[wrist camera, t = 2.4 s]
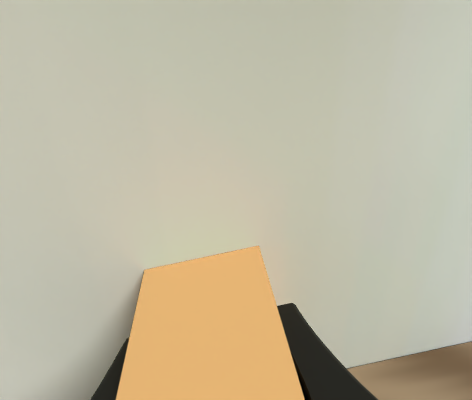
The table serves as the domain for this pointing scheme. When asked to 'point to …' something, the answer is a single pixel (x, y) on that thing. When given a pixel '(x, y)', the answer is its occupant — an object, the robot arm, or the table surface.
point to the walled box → (421, 375)
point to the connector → (208, 334)
